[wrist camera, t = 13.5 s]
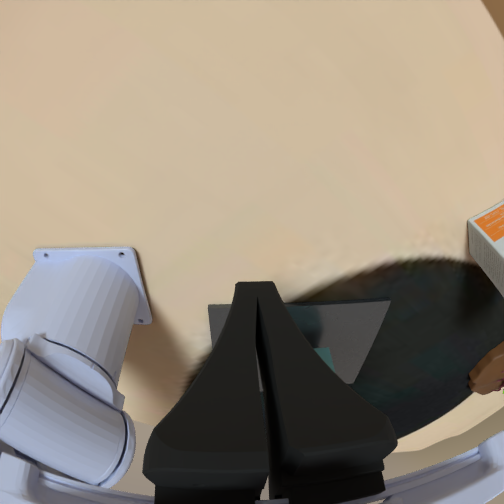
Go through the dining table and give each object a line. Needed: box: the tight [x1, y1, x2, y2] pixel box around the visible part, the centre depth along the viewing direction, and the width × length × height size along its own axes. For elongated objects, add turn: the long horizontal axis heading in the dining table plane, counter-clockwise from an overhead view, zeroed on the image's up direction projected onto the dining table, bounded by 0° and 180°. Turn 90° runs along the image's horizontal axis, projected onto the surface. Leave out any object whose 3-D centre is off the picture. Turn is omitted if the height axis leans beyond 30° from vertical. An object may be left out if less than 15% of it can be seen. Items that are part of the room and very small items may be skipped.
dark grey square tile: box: [208, 298, 391, 391], centre depth 27 cm, size 16×14×7 cm
